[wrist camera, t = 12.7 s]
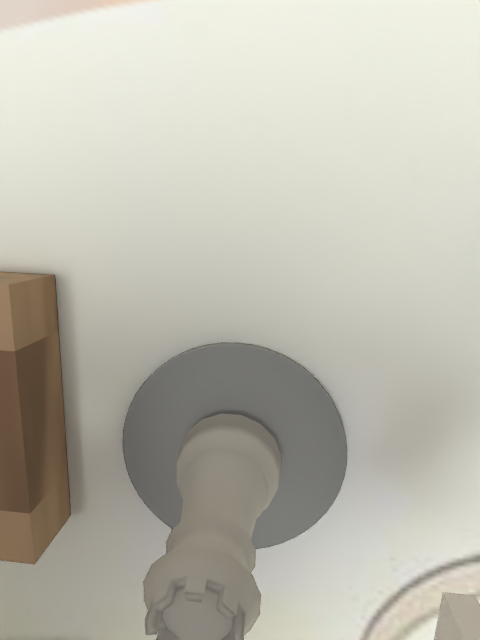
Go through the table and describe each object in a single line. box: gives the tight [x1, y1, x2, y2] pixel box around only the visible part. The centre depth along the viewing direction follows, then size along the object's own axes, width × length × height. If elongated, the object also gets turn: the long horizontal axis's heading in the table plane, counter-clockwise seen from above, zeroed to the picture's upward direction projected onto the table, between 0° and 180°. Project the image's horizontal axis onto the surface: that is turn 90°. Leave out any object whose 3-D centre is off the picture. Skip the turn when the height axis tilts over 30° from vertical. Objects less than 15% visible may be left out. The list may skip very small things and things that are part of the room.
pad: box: [123, 343, 347, 549], centre depth 18 cm, size 10×10×1 cm
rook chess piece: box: [143, 414, 281, 640], centre depth 14 cm, size 4×4×8 cm
